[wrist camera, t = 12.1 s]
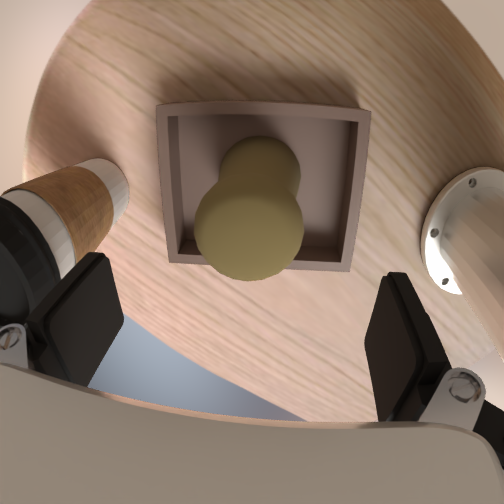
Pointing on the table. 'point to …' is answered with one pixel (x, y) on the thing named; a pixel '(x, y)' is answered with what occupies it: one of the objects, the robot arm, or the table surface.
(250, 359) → the table surface
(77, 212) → the coffee cup
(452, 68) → the table surface
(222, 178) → the tan tall rounded piece
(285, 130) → the lacquer tray
